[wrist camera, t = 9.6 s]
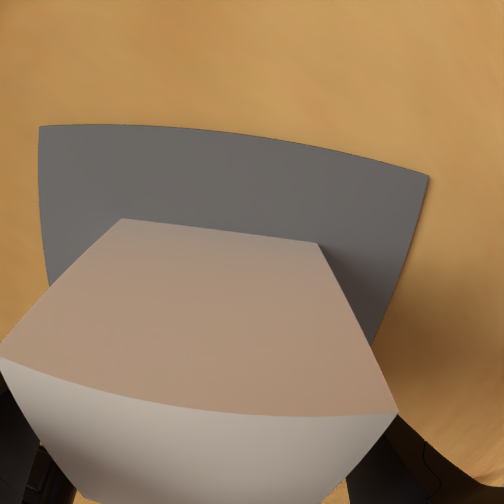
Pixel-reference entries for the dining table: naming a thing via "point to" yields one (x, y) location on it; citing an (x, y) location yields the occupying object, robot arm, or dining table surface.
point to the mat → (231, 198)
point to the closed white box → (198, 370)
